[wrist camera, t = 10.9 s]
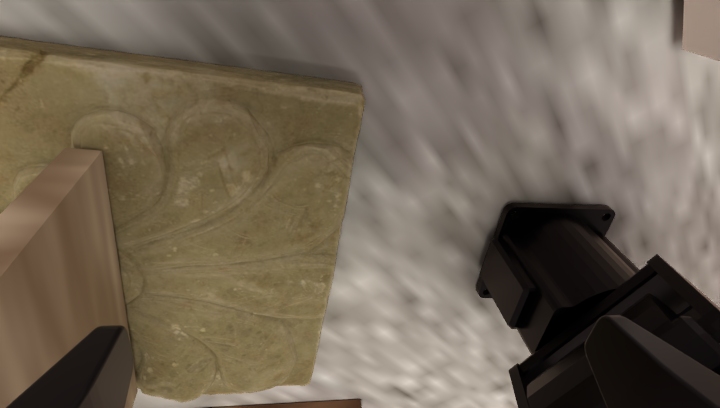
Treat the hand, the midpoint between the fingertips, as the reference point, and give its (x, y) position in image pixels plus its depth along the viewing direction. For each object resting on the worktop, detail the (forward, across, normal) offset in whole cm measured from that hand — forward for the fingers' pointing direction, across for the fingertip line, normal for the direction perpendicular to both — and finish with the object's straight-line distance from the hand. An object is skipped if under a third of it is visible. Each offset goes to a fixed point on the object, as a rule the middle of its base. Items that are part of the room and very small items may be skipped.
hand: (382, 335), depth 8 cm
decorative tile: (+14, +9, +8) cm, 18 cm away
